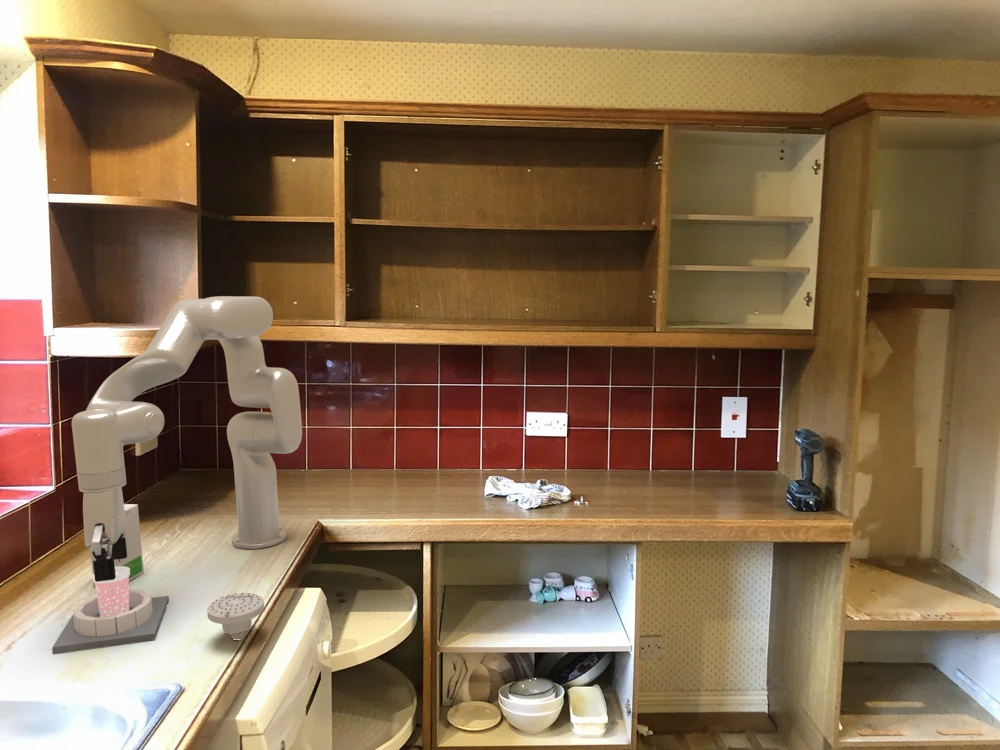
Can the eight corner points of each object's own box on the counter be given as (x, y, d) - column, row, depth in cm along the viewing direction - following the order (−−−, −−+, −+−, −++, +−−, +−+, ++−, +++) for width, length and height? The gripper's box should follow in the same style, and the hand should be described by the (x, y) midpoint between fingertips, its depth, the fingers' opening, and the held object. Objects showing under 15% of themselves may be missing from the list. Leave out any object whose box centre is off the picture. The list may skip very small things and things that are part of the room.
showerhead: (196, 613, 122) (217, 588, 132) (199, 654, 123) (220, 625, 133) (253, 612, 123) (269, 586, 132) (255, 652, 124) (272, 624, 133)
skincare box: (118, 588, 150) (112, 516, 148) (90, 586, 151) (83, 514, 149) (145, 572, 158) (139, 503, 156) (118, 570, 159) (112, 502, 157)
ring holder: (78, 612, 139) (76, 592, 139) (169, 601, 144) (167, 581, 143) (52, 654, 124) (50, 630, 123) (155, 639, 128) (153, 617, 128)
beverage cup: (102, 613, 136) (95, 541, 134) (137, 609, 137) (131, 538, 136) (91, 628, 130) (84, 553, 128) (129, 624, 131) (122, 550, 130)
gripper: (91, 467, 137) (100, 553, 140) (64, 495, 121) (75, 592, 123) (134, 464, 139) (143, 549, 142) (114, 490, 123) (124, 586, 126)
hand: (111, 569), depth 133 cm, fingers open, 9 cm apart
